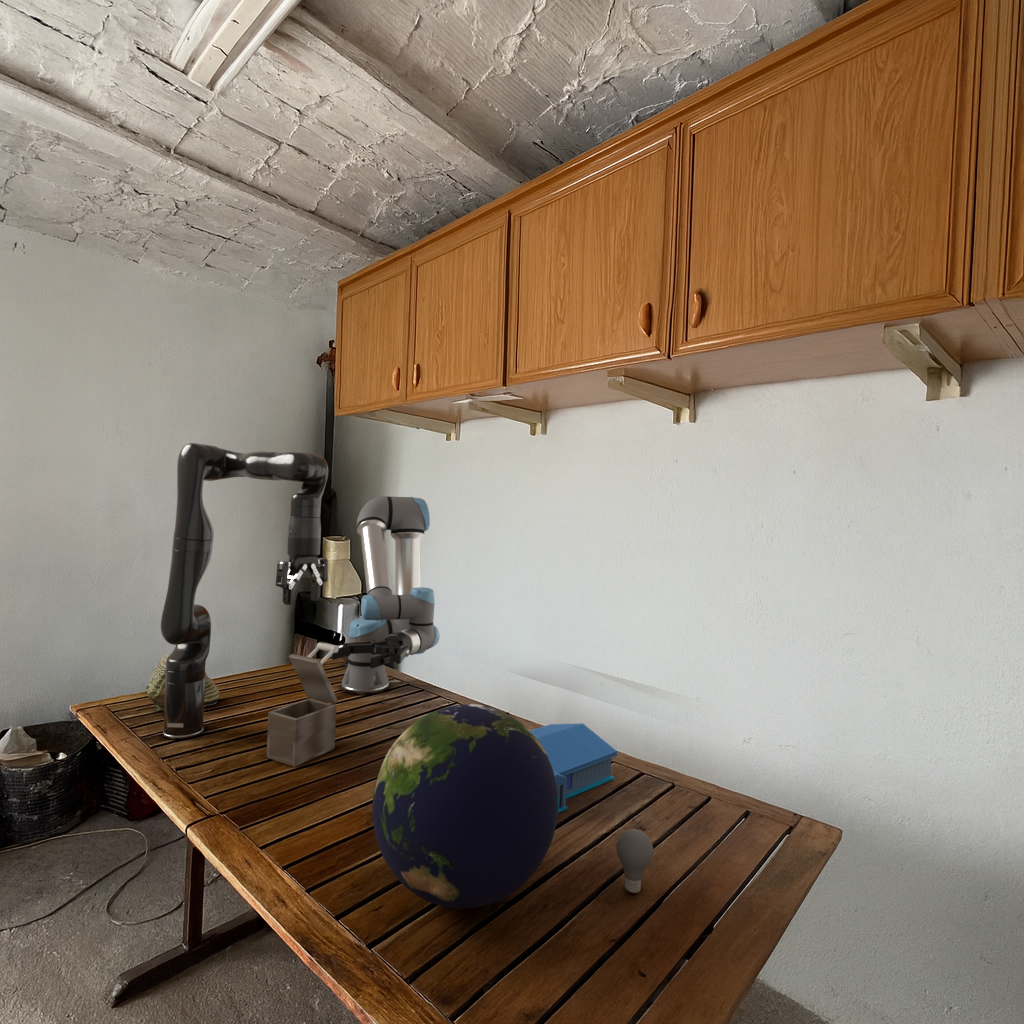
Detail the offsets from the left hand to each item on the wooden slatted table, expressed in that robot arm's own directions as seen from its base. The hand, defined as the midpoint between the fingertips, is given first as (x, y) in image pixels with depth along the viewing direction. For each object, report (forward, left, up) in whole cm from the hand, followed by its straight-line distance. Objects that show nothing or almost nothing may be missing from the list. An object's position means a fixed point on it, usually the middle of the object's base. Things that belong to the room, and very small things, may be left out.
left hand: (301, 602), depth 153 cm
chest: (-1, +2, -37) cm, 37 cm away
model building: (+47, +32, -37) cm, 69 cm away
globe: (+67, -2, -37) cm, 77 cm away
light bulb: (+85, +20, -37) cm, 95 cm away
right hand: (-6, +18, -17) cm, 25 cm away
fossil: (-53, -10, -37) cm, 65 cm away
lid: (-2, +4, -20) cm, 21 cm away
